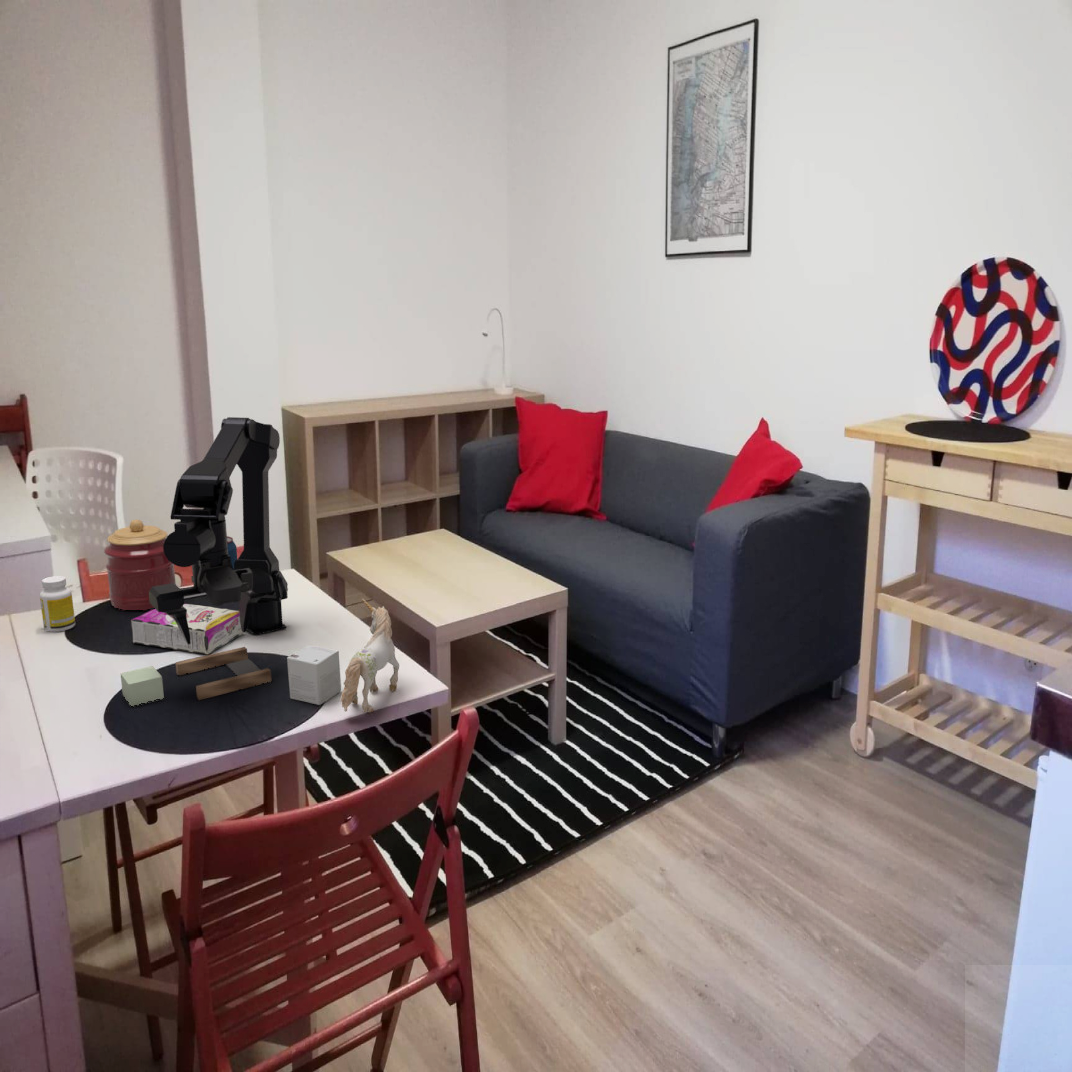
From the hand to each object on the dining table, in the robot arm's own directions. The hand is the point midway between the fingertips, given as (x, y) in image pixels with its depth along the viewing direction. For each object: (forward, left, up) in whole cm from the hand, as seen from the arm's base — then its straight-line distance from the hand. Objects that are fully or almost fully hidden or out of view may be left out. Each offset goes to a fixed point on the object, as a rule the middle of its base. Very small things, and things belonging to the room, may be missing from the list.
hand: (216, 637), depth 149 cm
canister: (0, -46, -8) cm, 47 cm away
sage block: (+12, 0, -8) cm, 15 cm away
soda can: (-15, -42, -8) cm, 45 cm away
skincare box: (-11, +15, -8) cm, 20 cm away
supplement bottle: (+17, -40, -8) cm, 44 cm away
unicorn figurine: (-17, +19, -8) cm, 26 cm away
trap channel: (-1, 0, -8) cm, 8 cm away
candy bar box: (+4, -27, -5) cm, 28 cm away
